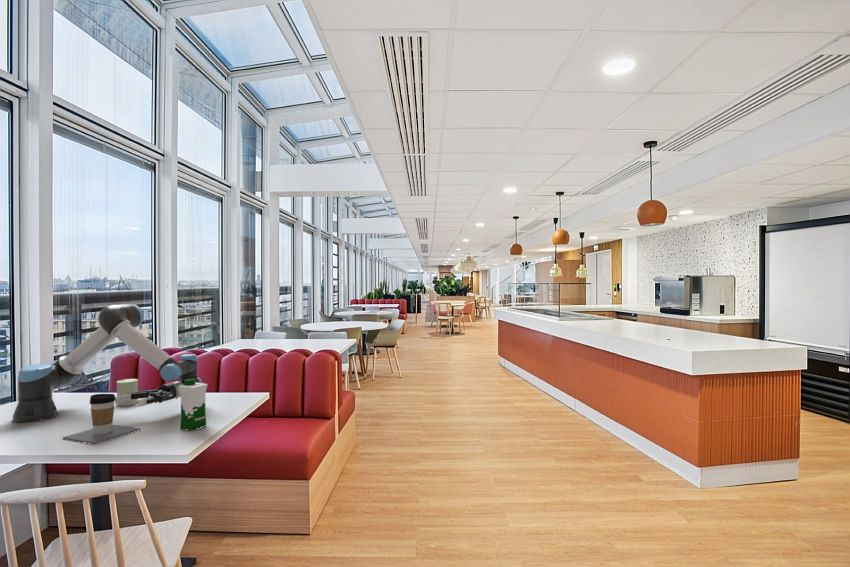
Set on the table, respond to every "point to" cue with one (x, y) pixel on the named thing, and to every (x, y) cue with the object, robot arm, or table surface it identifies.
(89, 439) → the mat
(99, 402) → the coffee cup
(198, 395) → the milk carton
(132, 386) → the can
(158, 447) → the table surface
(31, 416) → the robot arm
